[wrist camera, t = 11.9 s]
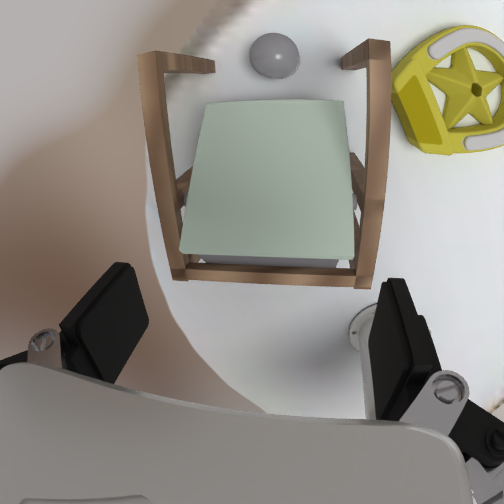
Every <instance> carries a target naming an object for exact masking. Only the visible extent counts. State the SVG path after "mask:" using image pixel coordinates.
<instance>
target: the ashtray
mask: <svg viewBox="0 0 504 504" xmlns="http://www.w3.org/2000/svg"><path fill="white" fill-rule="evenodd" d="M466 47H468V48H472V49H475V50H477V51H479V52H480V53H482V54H483V55H484V56H485V57H486V58H487V59H488V60H489V61H490V62H491V63H492V65H493V66H494V68H495V70H496V72H497V73H494V72H485V71H477V70H476V69H475V67H474V65H473V62H472V60H471V57H470V55H469V53H468V51H467V48H466ZM451 54H452V60H451V67H450V68H434V67H435V66H436V65H437V64H438V63H440V62H441V61H442V60H444V59H445V58H446V57H448V56H449V55H451ZM428 81H429V82H430V83H432V84H433V85H435V86H436V87H437V88H439V89H440V90H441V91H442V92H444V93H445V95H446V101H445V107H444V112H443V117H442V114H441V112H440V109H439V106H438V104H437V101H436V99H435V96H434V94H433V92H432V89H431V87H430V84H429V82H428ZM499 83H500V84H501V91H502V96H501V102H500V106H499V109H498V111H497V112H496V114H495V115H494V117H493V118H492V116H491V112H490V109H489V106H488V103H487V100H486V96H487V95H488V94H489V93H490V92H491V91H492V90H493V89H494V88H495V87H496V86H497V85H498V84H499ZM391 101H392V103H393V105H394V108H395V110H396V112H397V114H398V117H399V119H400V121H401V124H402V126H403V128H404V131H405V133H406V136H407V138H408V141H409V142H410V143H411V144H412V145H414V146H415V147H417V148H418V149H420V150H421V151H423V152H424V153H430V154H441V155H452V154H453V153H472V152H480V151H485V150H490V149H494V148H498V147H501V146H503V145H504V42H503V41H502V40H501V39H499V38H498V37H497V36H496V35H494V34H493V33H491V32H489V31H487V30H485V29H483V28H480V27H477V26H471V25H463V26H457V27H453V28H450V29H446V30H443V31H441V32H439V33H437V34H435V35H433V36H431V37H429V38H428V39H426V40H425V41H423V42H422V43H420V44H419V45H418V46H416V47H415V48H414V49H413V50H411V51H410V52H409V53H408V54H407V55H406V56H405V57H404V58H403V59H402V60H401V61H400V62H399V63H398V65H397V66H396V67H395V68H394V69H393V70H392V72H391ZM468 113H469V114H471V115H472V116H473V117H474V118H475V119H476V120H477V121H478V122H480V123H481V124H479V125H474V126H468V127H458V128H452V127H454V126H455V125H456V124H457V123H458V122H459V121H460V120H461V119H462V118H463V117H464V116H466V115H467V114H468Z"/></svg>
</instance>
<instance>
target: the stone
mask: <svg viewBox="0 0 504 504" xmlns="http://www.w3.org/2000/svg"><path fill="white" fill-rule="evenodd" d="M250 61H251V64H252V65H253V67H254V68H255V69H256V70H257V71H258V72H259V73H260V74H262V75H265V76H267V77H271V78H275V79H283V78H287V77H289V76H291V75H292V74H294V73H295V72H296V70H297V69H298V67H299V64H300V56H299V52H298V49H297V47H296V45H295V43H294V42H293V41H292V40H291V39H290V38H288V37H287V36H285V35H282V34H278V33H269V34H265V35H263V36H261V37H259V38H258V39H257V40H256V41H255V42H254V43H253V45H252V47H251V49H250Z"/></svg>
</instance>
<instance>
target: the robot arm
mask: <svg viewBox="0 0 504 504" xmlns="http://www.w3.org/2000/svg"><path fill="white" fill-rule="evenodd" d="M148 324H149V319H148V315H147V312H146V309H145V305H144V302H143V299H142V295H141V292H140V288H139V285H138V281H137V277H136V274H135V270H134V268H133V267H131V265H130V264H129V263H123V262H115V263H114V264H113V265H112V266H111V267H110V268H109V269H108V270H107V271H106V272H105V273H104V274H103V276H102V277H101V278H100V279H99V280H98V281H97V282H96V283H95V284H94V285H93V286H92V288H91V289H90V290H89V291H88V292H87V293H86V294H85V295H84V296H83V297H82V299H81V300H80V301H79V302H78V303H77V304H76V306H75V307H74V308H73V309H72V310H71V311H70V312H69V314H68V315H67V316H66V317H65V318H64V319H63V321H62V322H61V323H60V324H59V326H60V328H61V332H60V333H59V332H58V331H57V330H56V329H53V328H47V329H43V330H41V331H39V332H37V333H36V334H34V335H33V336H32V338H31V339H30V341H29V344H28V350H27V351H24V352H21V353H19V354H16V355H13V356H11V357H8V358H5V359H3V360H0V504H473V498H472V495H473V497H474V498H475V500H476V502H477V504H504V422H502V421H501V420H499V419H497V418H496V417H495V416H493V415H492V414H490V413H489V412H487V411H486V410H484V409H482V408H481V407H479V406H478V405H476V404H475V403H473V402H472V401H470V400H469V399H468V397H469V387H468V384H467V382H466V381H465V380H464V378H463V377H462V376H460V375H459V374H458V373H455V372H453V371H448V370H443V371H442V369H441V366H440V362H439V359H438V356H437V353H436V350H435V347H434V344H433V340H432V338H431V331H430V330H429V329H428V326H427V323H426V320H425V318H424V316H422V315H418V314H417V312H416V309H415V306H414V303H413V301H412V298H411V295H410V292H409V290H408V287H407V285H406V282H405V280H404V279H403V278H388V280H387V282H382V285H381V290H380V294H379V298H378V303H377V304H376V305H373V306H371V307H368V308H367V309H365V310H363V311H362V312H361V313H360V314H358V315H357V316H356V318H355V319H354V320H353V322H352V324H351V326H350V329H349V337H350V342H351V344H352V346H353V347H354V348H355V349H356V350H357V351H359V352H360V357H361V367H362V377H363V389H364V402H365V414H366V419H335V418H316V417H300V416H286V415H275V414H265V413H256V412H248V411H240V410H233V409H227V408H220V407H214V406H208V405H202V404H197V403H191V402H186V401H181V400H176V399H171V398H167V397H162V396H158V395H154V394H149V393H145V392H141V391H137V390H133V389H129V388H126V387H122V386H118V385H114V383H115V381H116V379H117V378H118V376H119V374H120V372H121V371H122V369H123V367H124V366H125V364H126V362H127V360H128V359H129V357H130V355H131V354H132V352H133V350H134V348H135V347H136V345H137V344H138V342H139V340H140V339H141V337H142V335H143V334H144V332H145V330H146V328H147V327H148ZM471 489H472V490H473V491H474V493H473V494H472V491H471Z"/></svg>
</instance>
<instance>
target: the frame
mask: <svg viewBox="0 0 504 504" xmlns="http://www.w3.org/2000/svg"><path fill="white" fill-rule="evenodd" d="M137 57H138V69H139V80H140V90H141V100H142V109H143V117H144V125H145V132H146V140H147V147H148V154H149V160H150V167H151V173H152V179H153V185H154V191H155V196H156V202H157V207H158V213H159V218H160V223H161V228H162V233H163V238H164V243H165V247H166V252H167V257H168V261H169V266H170V270H171V274H172V279H173V280H177V281H188V280H202V281H219V282H237V283H257V284H278V285H303V286H332V287H354V289H371V285H372V280H373V275H374V269H375V263H376V258H377V252H378V245H379V239H380V232H381V225H382V218H383V210H384V201H385V192H386V182H387V172H388V159H389V144H390V124H391V50H390V41H384V40H376V39H367V40H366V41H364V42H363V43H361V44H360V45H358V46H357V47H355V48H354V49H353V50H351V51H350V52H348V53H347V54H345V55H344V56H343V57H342V69H345V70H358V69H362V68H366V69H367V124H366V152H365V168H364V167H363V165H362V164H361V162H360V161H359V159H358V158H357V156H356V155H355V153H349V157H350V169H351V182H352V190H353V192H354V193H356V195H357V203H358V205H359V208H360V210H361V218H360V228H359V225H358V222H357V218H356V215H355V212H354V210H353V219H354V258H353V260H349V264H350V269H348V268H314V267H286V266H261V265H236V264H213V263H198V262H199V260H200V258H201V257H200V256H198V255H197V254H183V253H182V252H180V251H179V247H180V240H181V233H182V227H183V223H182V217H181V210H180V209H181V208H182V206H183V205H184V194H185V192H189V186H190V181H191V175H192V170H193V167H191V168H190V169H189V170H188V171H186V172H185V173H184V174H183V175H182V176H180V177H179V178H178V179H177V180H176V177H175V170H174V163H173V156H172V148H171V140H170V132H169V123H168V114H167V105H166V95H165V84H164V73H198V74H205V73H214V72H215V62H214V60H209V59H204V58H198V57H193V56H187V55H181V54H175V53H168V52H161V51H152V52H147V53H144V54H139V55H137Z"/></svg>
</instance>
